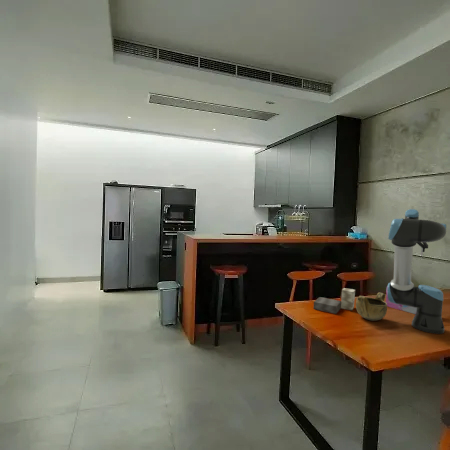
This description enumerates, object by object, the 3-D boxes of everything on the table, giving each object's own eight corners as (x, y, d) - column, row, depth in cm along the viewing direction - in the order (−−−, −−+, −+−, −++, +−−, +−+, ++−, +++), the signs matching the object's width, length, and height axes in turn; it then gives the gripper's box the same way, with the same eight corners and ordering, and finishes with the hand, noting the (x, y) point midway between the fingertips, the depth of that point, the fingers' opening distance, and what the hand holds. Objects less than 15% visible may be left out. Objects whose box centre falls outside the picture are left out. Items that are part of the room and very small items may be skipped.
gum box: (383, 305, 205) (384, 286, 204) (387, 303, 210) (389, 284, 209) (422, 316, 186) (424, 295, 186) (427, 313, 192) (428, 293, 191)
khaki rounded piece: (372, 327, 164) (374, 300, 163) (345, 316, 179) (347, 292, 178) (394, 320, 176) (396, 295, 175) (367, 311, 191) (369, 288, 190)
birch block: (353, 307, 197) (355, 289, 197) (352, 310, 191) (353, 292, 191) (342, 305, 201) (344, 287, 200) (340, 307, 195) (341, 290, 194)
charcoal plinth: (340, 308, 195) (341, 301, 195) (336, 314, 183) (336, 306, 183) (319, 304, 202) (319, 296, 202) (313, 309, 191) (313, 301, 190)
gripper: (434, 228, 195) (431, 252, 206) (391, 225, 209) (391, 248, 220) (433, 235, 190) (431, 259, 201) (389, 231, 205) (389, 254, 216)
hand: (410, 253), depth 211 cm, fingers open, 13 cm apart
